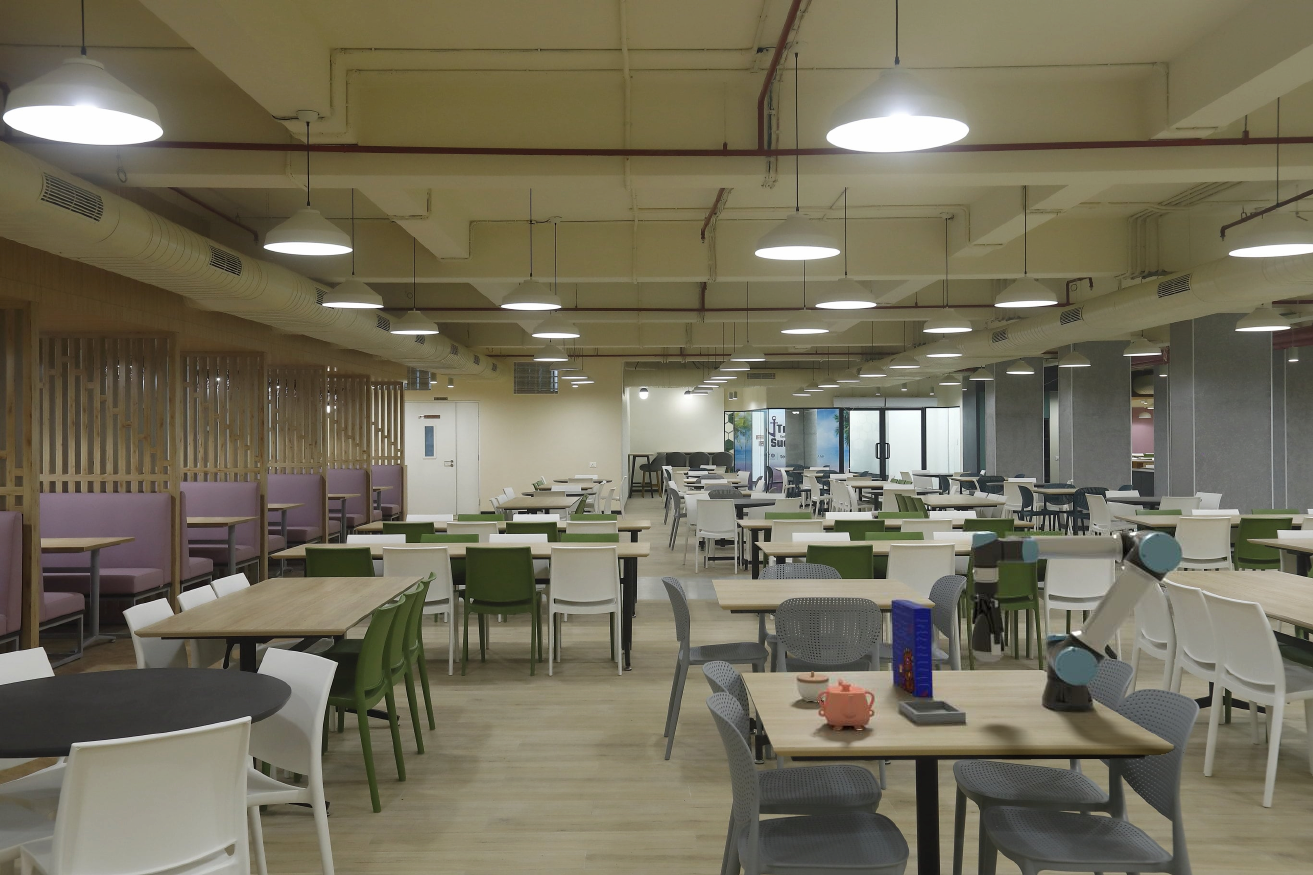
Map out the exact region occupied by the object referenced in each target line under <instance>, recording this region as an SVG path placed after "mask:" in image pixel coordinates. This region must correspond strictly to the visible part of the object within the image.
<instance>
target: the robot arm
mask: <svg viewBox="0 0 1313 875" xmlns="http://www.w3.org/2000/svg"><path fill="white" fill-rule="evenodd" d="M971 542H972V543H971V548H972V550H971V551H972V552H971V553H972V571H971V572H972V574H973V575H972V576H973V580H974V581H973V592H974V593H975V595H973V607H972V608H973V609H972V619H971V624H972V625H973V626H974V625H975V622H976V620H977V618H978V616H979V615H980V614H981V613H983V612H985V613H986V614H987V615H988V619H989V622H990V626H991V630H992V631H991V632H990V634H991V655H1001V641H1000V634H1001V633H1002V634H1004V633H1005V630H1004V629H1005V628H1004V624H1003V623H1004V622H1003V617H1002V611H1001V601H1000V599H999V600H997V599H996V598H995V595H998V594H999V592H1000V585H999V584H1000V583H999V582H998V580H999V563H1025V564H1028V563H1036V562H1038V560H1040V559H1041V560H1042V559H1043V560H1049V559H1050V560H1055V559H1056V560H1115V561H1116V562H1117V563H1118V564H1119V563H1121V564H1123V565H1124V568H1123V570H1122V571H1121V573H1119V575H1118V576H1117V578H1116V579H1115V581H1113V583H1112V585H1111V586H1110V587H1109V589H1107V591H1106V593H1105V594H1103V595H1104V596H1102V598H1101V599H1100V601H1099V602H1098V603H1097V605H1096V606H1095V608H1094V609H1093V610H1092V612H1091V613H1090V614H1089V616H1088V617H1087V618H1086V620H1085V621H1084V623H1083V624H1082V625H1081V626H1080V628H1079V629H1078V630H1076V631H1070V632H1069V634H1063V633H1062V634H1061V633H1051V634H1050V633H1049V634H1047V635H1046V638H1045V643H1044V644H1045V646H1046V648H1045V649H1046V683H1045V687H1044V689H1043V691H1042V692H1043V693H1042V696H1041V704H1042V705H1043V707H1044V708H1045V707H1046V708H1048V709H1052V710H1056V711H1062V712H1075V713H1077V712H1078V713H1079V712H1080V713H1081V712H1089V711H1092V710H1094V701H1093V698H1092V694H1091V692H1090V689H1089V686H1088V684H1090V683H1091V682H1093V680H1095V678H1096V677H1097V675H1098V672H1099V666H1100V664H1101V663H1102V662H1103V661H1104V659H1105V658H1106V656H1107V654H1106V651H1105V650H1106V647H1107V645H1109V643H1110V642H1111V640H1112V638H1113V637H1114V636H1115V635H1116V634H1117V632H1118V631H1119V629H1120V628H1121V627H1122V626H1123V624H1124V623H1125V621H1126V620H1127V619H1128V618H1129V616H1130V614H1132V611H1134V609H1135V608H1136V606H1137V605H1138V604H1139V603H1140V601H1141V600H1142V599H1143V597H1144V596H1145V594H1146V593H1147V592H1148V590H1149V589H1150V588H1151V586H1152V585H1156V584H1160V583H1161V582H1162V581H1163V579H1164V578H1165V577H1166V576H1167V574H1168V573H1170V572H1172V571H1174V570H1175V569H1177V568H1178V566H1180V564H1181V562H1182V560H1183V551H1182V547H1181V544H1180V543H1179V541H1177V539H1176V538H1174V537H1173V536H1171V535H1170V534H1168V533H1166V532H1163V531H1156V530H1151V529H1145V530H1137V531H1128V532H1127V531H1126V532H1125V531H1124V532H1116V533H1115V534H1113V535H1016V534H1010V535H1007V536H1005V537H1004V538H1000V537H999V536H998V534H997V533H996V532H993V531H978V532H973V534H972V541H971Z"/></svg>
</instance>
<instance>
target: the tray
mask: <svg viewBox="0 0 1313 875" xmlns="http://www.w3.org/2000/svg"><path fill="white" fill-rule="evenodd" d="M897 702H898V704H897V705H898V712H900V714H901V715H903V716H905V717H906V718H907V719H909V720H910V721H912V722H913V723H914V724H916V725H928V724H929V725H931V724H933V725H935V724H937V725H938V724H960V723H962V724H963V723H964V724H965V723H966V722H967V720H966V719H967V716H966V714H967V713H966V711H964V710H962V709H961V708H960V707H958V706H955V705H954V704H953V703H951V702H949V701H948V700H946V699H938V700H937V699H936V700H934V699H933V700H907V701H906V700H905V701H903V700H901V701H900V700H899V701H897Z"/></svg>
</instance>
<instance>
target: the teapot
mask: <svg viewBox="0 0 1313 875" xmlns="http://www.w3.org/2000/svg"><path fill="white" fill-rule="evenodd" d="M837 682H838V685H837V686H835V685H834V686H832V685H831V686H829V687H827V690H824V691H821V692H820V693H819V694H818V701H819V702H818V704H819V706H820V709H818V712H817V713H818V716H820V717H822V718H823V717H824V718H825V720H826V721H827V723H828V724H829V725H831V726H834V727H833V730H835V729H842V730H843V727H845V726H847V727H848V726H849V727H854V728H853V729H854V730H855V729H863V730H864V728H863V726H868V725H869V722H870V719H871V718H872V717H874V716H875V713H876V712H875V710H874V709H873V708H872V707H873V705H874V703H875V699H876V698H875V695H874V693H873V692H872V691H870V690H868V689H867V690H864V689H863V688H862V687H861V686H857V685H856V686H855V685H854V686H853V685H852V684H851V683H848V682H844V680H843V679H840V678H839V679H837ZM851 685H852V686H851ZM822 694H826V695H825V697H824V701H823V700H822V701H823V702H822V701H821V695H822ZM866 694H868V695H870V697H871V698H870V702H868V698H867V695H866ZM822 712H823V713H822ZM870 712H871V713H870Z"/></svg>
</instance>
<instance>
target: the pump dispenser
mask: <svg viewBox="0 0 1313 875" xmlns="http://www.w3.org/2000/svg"><path fill="white" fill-rule="evenodd" d="M991 631H992V630H991V626H990V622H989V619H988V615H987V614H986V613H985V612H983V613H981V614H980V615H979V616H978V618H977V620H976V622H975V625H974V624H973V629H972V633H971V639H970V650H972V653H973V656H974V657H975V658H976V659H977V660H978V661H980V662H987V663H994V662H998V661H999V660H1001V659H1002V657H1004V656H1003V655H1004V652H1005V651H1006V644H1005V638H1004V635H1003V634H1004V633H1001V634H1000V641H1001V655H991V634H990V632H991Z"/></svg>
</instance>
